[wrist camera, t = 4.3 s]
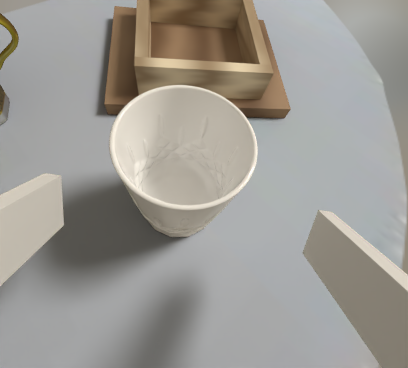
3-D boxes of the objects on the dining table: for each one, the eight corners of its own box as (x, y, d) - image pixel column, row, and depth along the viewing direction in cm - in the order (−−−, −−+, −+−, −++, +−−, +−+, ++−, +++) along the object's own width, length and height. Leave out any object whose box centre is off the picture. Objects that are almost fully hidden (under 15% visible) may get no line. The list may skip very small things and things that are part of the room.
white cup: (232, 183, 23) (273, 116, 14) (201, 260, 19) (229, 237, 10) (160, 152, 23) (154, 66, 14) (118, 221, 20) (75, 167, 11)
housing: (108, 114, 24) (93, 74, 19) (117, 18, 30) (107, -29, 26) (284, 118, 27) (307, 84, 23) (259, 31, 34) (273, -9, 29)
